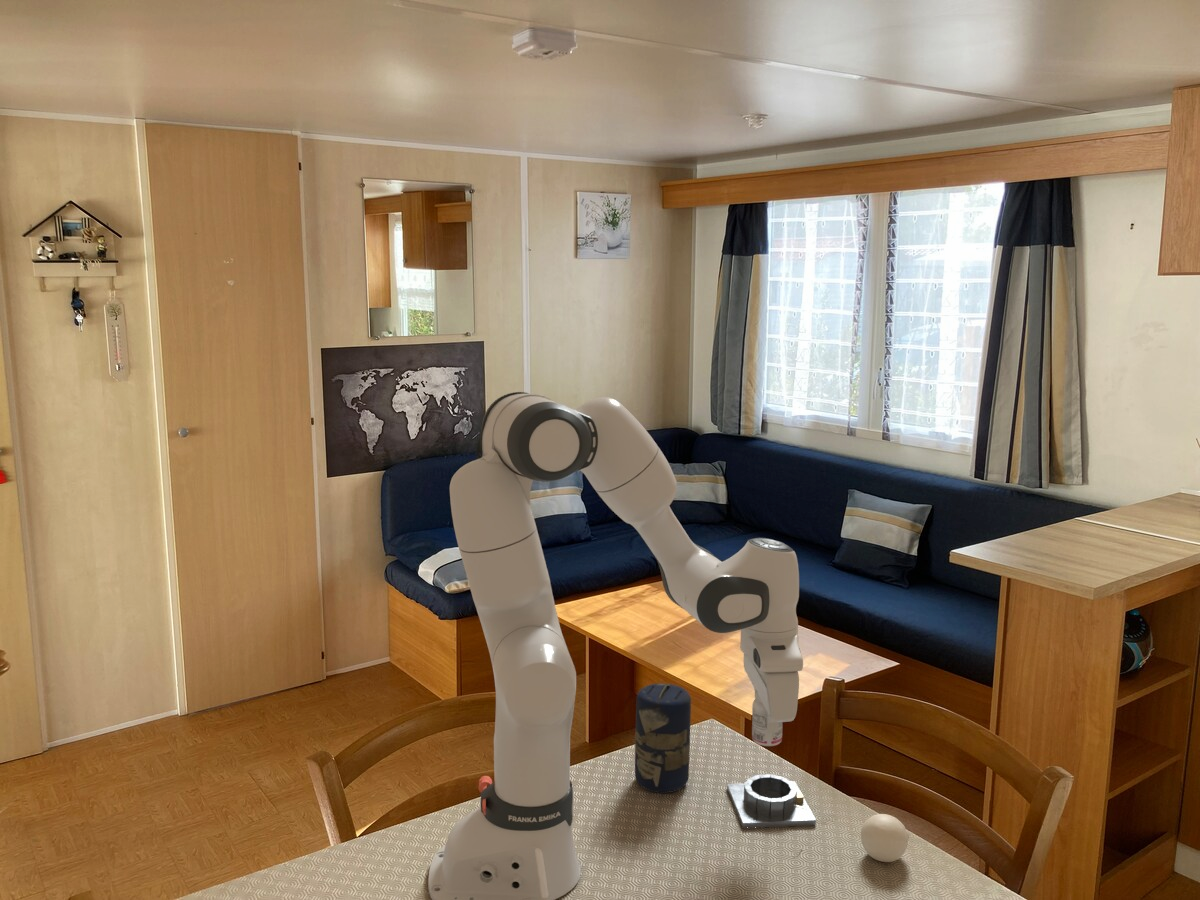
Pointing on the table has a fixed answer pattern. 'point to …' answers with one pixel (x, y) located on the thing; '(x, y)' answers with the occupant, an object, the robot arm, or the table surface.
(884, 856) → the beige sphere
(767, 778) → the lock socket
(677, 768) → the canister
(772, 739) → the pill bottle
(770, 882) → the table surface
